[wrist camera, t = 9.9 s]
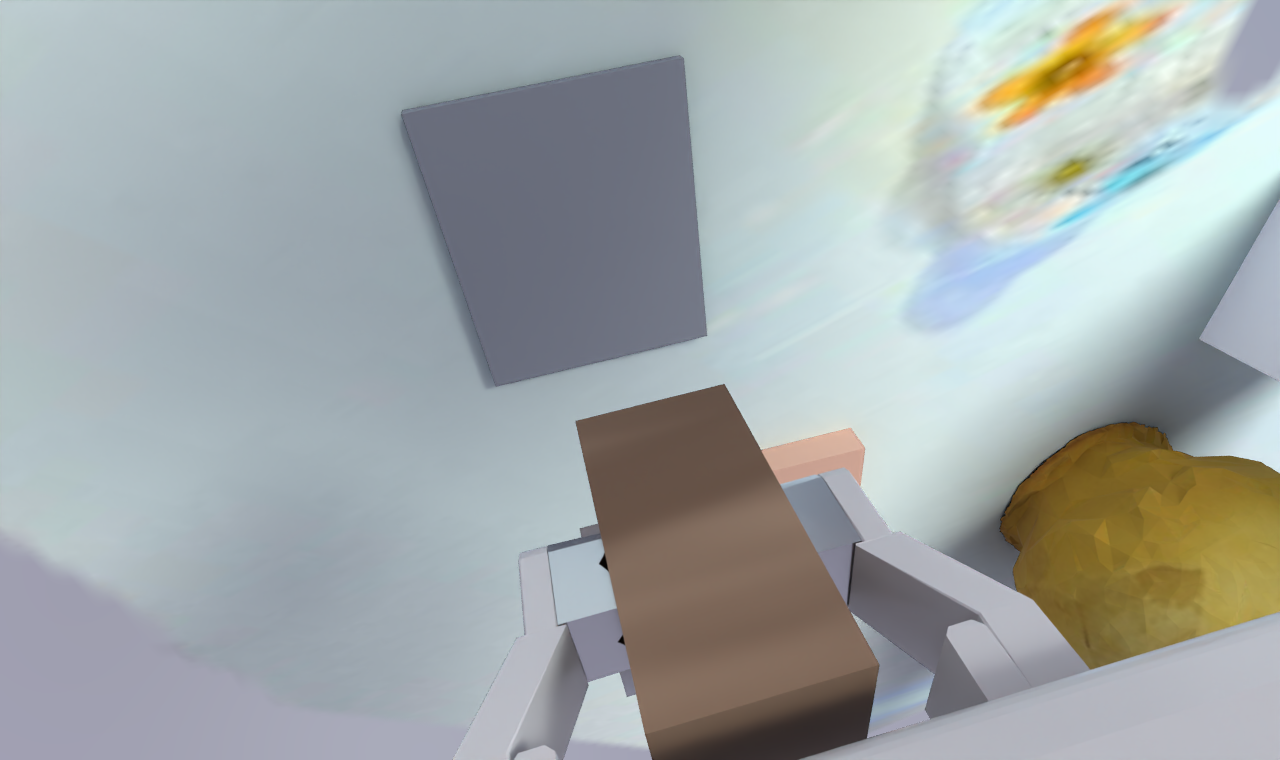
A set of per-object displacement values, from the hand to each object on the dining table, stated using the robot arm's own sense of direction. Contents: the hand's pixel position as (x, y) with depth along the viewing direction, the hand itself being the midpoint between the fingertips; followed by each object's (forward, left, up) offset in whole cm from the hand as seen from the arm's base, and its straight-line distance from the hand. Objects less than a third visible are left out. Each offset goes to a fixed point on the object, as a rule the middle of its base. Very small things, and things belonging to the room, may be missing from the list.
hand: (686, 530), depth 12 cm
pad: (+2, 0, -17) cm, 17 cm away
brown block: (+3, 0, -2) cm, 4 cm away
